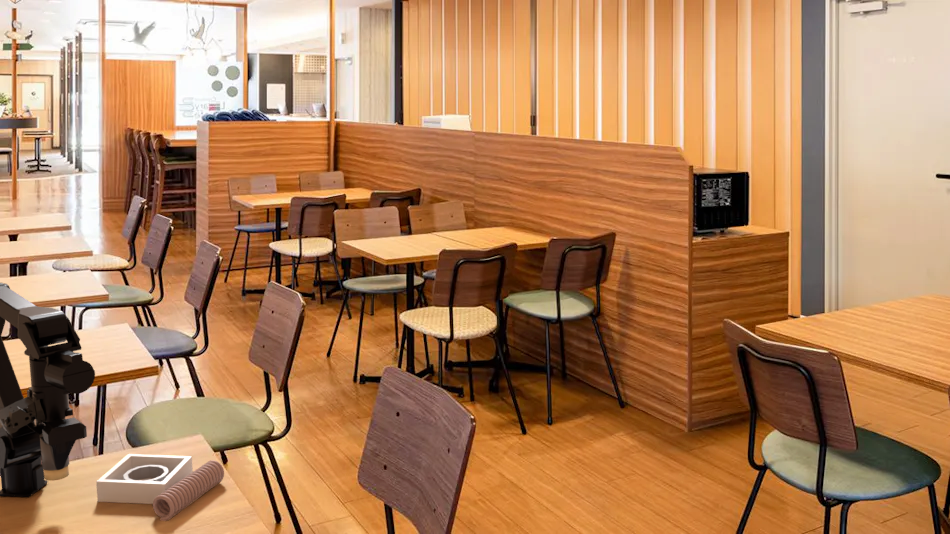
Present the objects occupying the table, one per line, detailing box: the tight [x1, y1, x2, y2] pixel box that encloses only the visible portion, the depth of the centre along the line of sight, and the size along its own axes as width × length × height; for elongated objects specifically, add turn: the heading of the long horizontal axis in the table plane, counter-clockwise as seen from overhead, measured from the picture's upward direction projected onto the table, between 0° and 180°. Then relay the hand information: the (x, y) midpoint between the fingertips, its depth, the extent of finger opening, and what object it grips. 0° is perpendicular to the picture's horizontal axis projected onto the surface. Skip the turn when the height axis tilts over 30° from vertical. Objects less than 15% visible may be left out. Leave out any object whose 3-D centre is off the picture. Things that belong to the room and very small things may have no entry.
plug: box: [40, 433, 70, 482], centre depth 153 cm, size 4×4×8 cm
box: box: [95, 453, 194, 505], centre depth 164 cm, size 13×13×4 cm
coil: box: [152, 459, 225, 522], centre depth 159 cm, size 5×5×18 cm
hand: (55, 465), depth 153 cm, fingers closed on plug, 4 cm apart
